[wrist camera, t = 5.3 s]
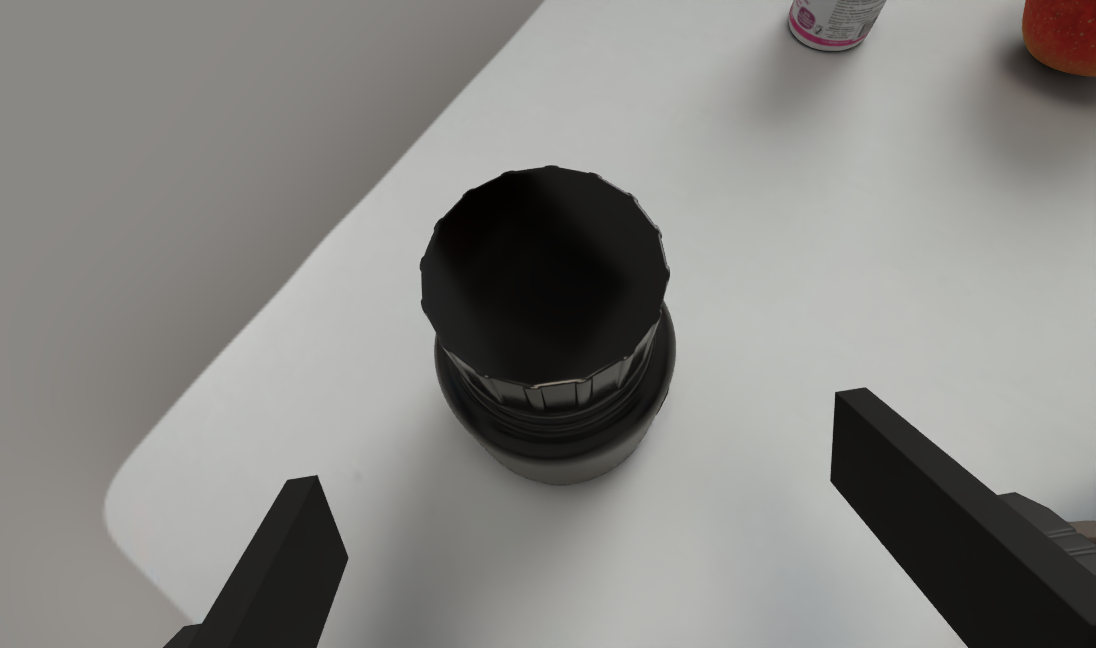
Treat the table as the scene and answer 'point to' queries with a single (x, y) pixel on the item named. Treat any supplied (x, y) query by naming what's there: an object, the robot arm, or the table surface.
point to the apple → (1062, 34)
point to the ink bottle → (550, 321)
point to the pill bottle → (833, 22)
